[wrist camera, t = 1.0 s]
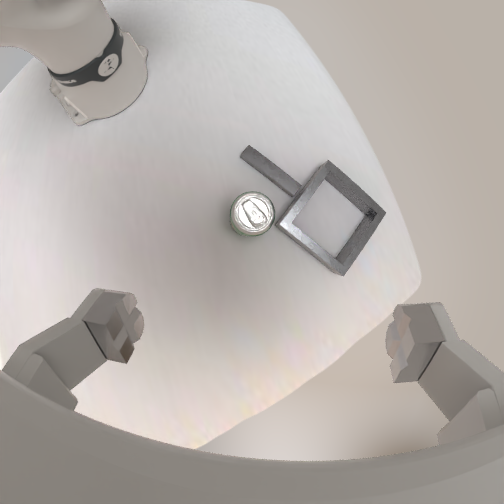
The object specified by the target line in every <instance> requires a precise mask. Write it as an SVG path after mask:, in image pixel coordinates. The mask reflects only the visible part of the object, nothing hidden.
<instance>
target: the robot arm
mask: <svg viewBox="0 0 504 504" xmlns="http://www.w3.org/2000/svg"><path fill="white" fill-rule="evenodd" d="M0 47H16V48H21V49H23V50H25V51H27V52H29V53H30V54H32V55H33V56H35V57H36V58H37V59H38V60H40V61H41V62H42V63H43V64H45V65H46V66H47V68H48V71H49V73H50V75H51V76H52V78H53V79H52V82H51V85H50V87H51V88H50V91H51V92H52V93H53V94H54V95H55V96H56V97H57V98H58V100H59V101H60V103H61V104H62V106H63V107H64V108H65V110H66V111H67V113H68V114H69V116H70V117H71V119H72V120H73V121H74V123H75V124H76V125H78V126H80V125H83V124H85V123H87V122H89V121H91V120H94V119H102V118H107V117H110V116H113V115H115V114H117V113H119V112H121V111H123V110H124V109H125V108H127V107H128V106H129V105H130V104H132V103H133V102H134V101H135V100H136V98H137V97H138V96H139V95H140V93H141V92H142V90H143V88H144V86H145V83H146V80H147V67H146V58H147V54H148V50H147V49H146V47H144V46H140V45H137V44H136V42H135V41H134V39H133V38H132V36H131V35H130V33H128V32H126V33H125V32H121V29H120V28H119V26H118V25H117V23H116V22H115V21H114V20H113V19H112V18H110V17H109V15H108V13H107V11H106V9H105V7H104V5H103V3H102V1H101V0H0ZM77 115H78V116H77ZM76 116H77V117H76ZM136 304H137V300H136V298H135V296H134V294H132V293H128V292H121V291H114V290H105V289H99V288H96V289H93V290H92V291H91V292H90V294H89V295H88V296H87V297H86V299H85V300H84V301H83V302H82V304H81V305H80V306H79V307H78V309H77V310H76V311H75V313H74V314H73V315H72V317H71V318H66V319H64V320H62V321H60V322H59V323H57V324H55V325H53V326H52V327H50V328H48V329H46V330H45V331H43V332H41V333H39V334H38V335H36V336H34V337H32V338H31V339H29V340H27V341H26V342H24V343H22V344H20V345H19V346H18V348H17V349H16V350H15V352H14V353H13V355H12V356H11V357H10V359H9V360H8V362H7V363H6V365H5V366H4V368H3V369H2V371H1V370H0V504H504V373H503V372H502V371H501V370H500V369H499V368H498V367H497V366H495V365H494V364H493V363H491V361H489V360H488V359H487V358H486V357H484V356H483V355H482V354H481V353H480V352H478V351H477V350H476V349H475V348H473V347H472V346H471V345H470V344H468V343H467V342H466V341H465V340H460V339H459V337H458V335H457V332H456V330H455V328H454V326H453V324H452V322H451V320H450V318H449V316H448V313H447V312H446V310H445V308H444V306H443V304H442V303H440V302H436V303H426V304H425V303H423V304H398V305H397V306H396V307H395V309H394V312H393V317H394V321H393V322H392V323H391V324H389V326H388V329H387V332H386V349H387V354H388V355H389V356H390V357H391V358H392V359H393V360H392V362H391V364H390V368H391V373H392V377H393V382H394V383H401V382H413V381H418V383H419V385H420V386H421V387H422V388H423V389H424V391H425V392H426V393H427V394H428V395H429V397H430V398H431V399H432V400H433V401H434V403H435V404H436V405H437V406H438V408H439V409H440V410H441V411H442V412H443V414H444V415H445V416H446V418H447V419H448V420H449V421H450V422H449V423H448V424H446V425H445V426H444V427H443V428H442V429H441V430H440V431H439V433H438V434H437V436H438V442H439V445H438V446H435V447H430V448H426V449H421V450H417V451H411V452H406V453H400V454H394V455H387V456H380V457H372V458H363V459H351V460H335V461H284V460H283V461H282V460H267V459H255V458H245V457H236V456H229V455H222V454H216V453H210V452H205V451H199V450H194V449H189V448H185V447H180V446H176V445H172V444H168V443H164V442H160V441H156V440H153V439H149V438H146V437H142V436H139V435H136V434H133V433H130V432H127V431H124V430H121V429H118V428H115V427H112V426H110V425H107V424H104V423H102V422H99V421H97V420H94V419H92V418H89V417H87V416H85V415H82V414H80V413H78V412H75V411H74V409H75V407H76V405H77V403H78V401H77V398H76V397H75V396H74V395H73V394H72V393H71V391H70V390H71V389H73V388H74V387H75V386H76V385H78V384H79V383H80V382H81V381H82V380H84V379H85V378H86V377H87V376H89V375H90V374H91V373H92V372H93V371H95V370H96V369H97V368H98V367H100V366H101V365H102V364H103V363H104V362H106V361H107V360H112V361H116V362H121V363H126V364H127V362H128V360H129V358H130V357H131V355H132V353H133V351H134V345H133V343H134V342H136V341H138V340H139V339H140V337H141V335H142V333H143V328H144V319H143V316H142V313H141V312H140V311H139V310H138V309H137V308H136ZM106 359H107V360H106Z"/></svg>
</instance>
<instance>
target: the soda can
mask: <svg viewBox="0 0 504 504" xmlns="http://www.w3.org/2000/svg"><path fill="white" fill-rule="evenodd" d="M274 219H275V209H274V206H273V204H272V202H271V200H270V199H269V198H268V197H267V196H265V195H264V194H262V193H259V192H246V193H243V194H241V195H240V196H239V197H237V198H236V199H235V201H234V202H233V204H232V206H231V211H230V223H231V226H232V228H233V229H234V231H235V232H236V233H238V234H240V235H242V236H258V235H261V234H263V233H265V232H266V231H268V230H269V229H270V227H271V226H272V224H273V222H274Z"/></svg>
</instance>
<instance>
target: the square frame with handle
mask: <svg viewBox="0 0 504 504" xmlns="http://www.w3.org/2000/svg"><path fill="white" fill-rule="evenodd" d="M240 158H242V159H243V160H244V161H246V162H247V163H248V164H250V165H251V166H252V167H254V168H255V169H256V170H258V171H259V172H260V173H262V174H263V175H264V176H265V177H267V178H268V179H269V180H271V181H272V182H273V183H274V184H276V185H277V186H278V187H280V188H281V189H282V190H283V191H285V192H286V193H287V194H288V195H290V196H291V197H293V196H294V195H295V194H296V192H297V191H298V190H299V188H300V187H301V186H302V185H300V184H299V183H298V182H297V181H295V180H294V179H293V178H292V177H290V176H289V175H288V174H287V173H285V172H284V171H283V170H281V169H280V168H279V167H278V166H276V165H275V164H274V163H272V162H271V161H270V160H268V159H267V158H266V157H264V156H263V155H262V154H260V153H259V152H258V151H256V150H255V149H254V148H252V147H251V146H250V145H249V146H248V147H247V148H246V149H245V150H244V151H243V153H242V154H241V156H240ZM324 179H326V180H327V181H328V182H329V183H330V184H332V185H333V186H334V187H335V188H336V189H337V190H338V191H340V192H341V193H342V194H343V195H344V196H345V197H346V198H348V199H349V200H350V201H351V202H352V203H353V204H354V205H355V206H356V207H358V208H359V209H360V210H361V211H362V212H363V213H364V214H365V215H366V216H365V217H364V219H363V220H362V222H361V223H360V225H359V226H358V228H357V229H356V231H355V232H354V233H353V235H352V236H351V238H350V239H349V241H348V242H347V244H346V245H345V246H344V248H343V249H342V251H341V252H340V253H339V255H338V256H337V258H336V259H335V258H334V257H332V256H331V255H330V254H329V253H328V252H326V251H325V250H324V249H323V248H322V247H320V246H319V245H318V244H317V243H316V242H314V241H313V240H312V239H311V238H310V237H308V236H307V235H306V234H305V233H303V232H302V231H301V230H300V229H298V228H297V227H296V226H295V225H293V224H292V221H293V220H294V219H295V218H296V216H297V215H298V214H299V212H300V211H301V210H302V208H303V207H304V206H305V204H306V203H307V202H308V200H309V199H310V198H311V196H312V195H313V194H314V192H315V191H316V190H317V188H318V187H319V186H320V184H321V183H322V182H323V180H324ZM385 214H386V212H385V211H384V210H383V209H382V208H381V207H380V206H379V205H378V204H377V203H376V202H375V201H374V200H373V199H372V198H371V197H370V196H368V195H367V194H366V193H365V192H364V191H363V190H362V189H361V188H360V187H359V186H358V185H357V184H355V183H354V182H353V181H352V180H351V179H350V178H349V177H348V176H346V175H345V174H344V173H343V172H342V171H341V170H340V169H338V168H337V167H336V166H335V165H334V164H333V163H331V162H330V161H329V160H328V161H326V162H325V163H324V164H322V165H321V166H320V167H319V168H318V170H317V171H316V172H315V174H314V175H313V176H312V178H311V179H310V180H309V181H308V183H307V184H306V185H305V187H304V188H303V189H302V191H301V192H300V193H299V195H298V196H297V197H296V198H295V200H294V201H293V202H292V204H291V205H290V206H289V208H288V209H287V210H286V212H285V213H284V214H283V215H282V217H281V218H280V219H279V221H278V222H277V223H276V225H275V226H276V227H278V228H279V229H280V230H281V231H283V232H284V233H285V234H286V235H288V236H289V237H290V238H291V239H293V240H294V241H295V242H296V243H298V244H299V245H300V246H301V247H303V248H304V249H305V250H306V251H308V252H309V253H310V254H311V255H313V256H314V257H315V258H316V259H317V260H319V261H320V262H321V263H322V264H324V265H325V266H326V267H327V268H328V269H330V270H331V271H332V272H333V273H335V274H338V275H341V276H344V275H345V274H346V272H347V271H348V269H349V268H350V266H351V265H352V264H353V262H354V261H355V259H356V258H357V256H358V255H359V253H360V252H361V251H362V249H363V248H364V246H365V245H366V243H367V242H368V240H369V239H370V237H371V236H372V234H373V233H374V231H375V230H376V228H377V226H378V225H379V223H380V222H381V220H382V219H383V217H384V215H385Z"/></svg>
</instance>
